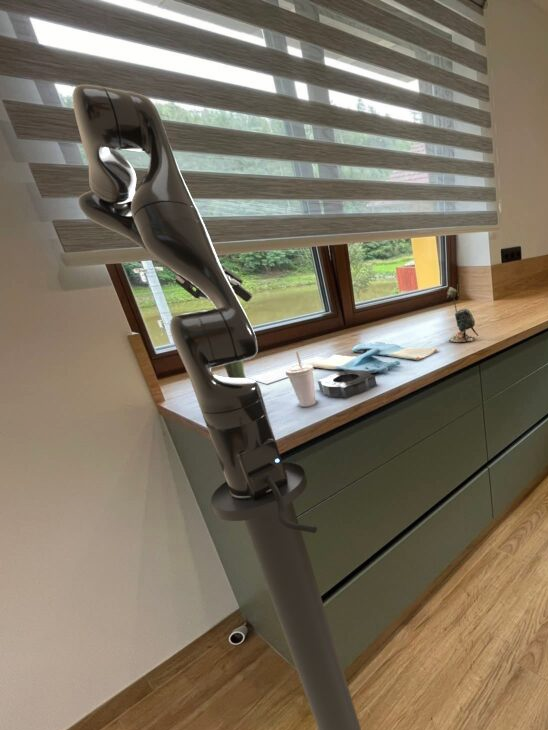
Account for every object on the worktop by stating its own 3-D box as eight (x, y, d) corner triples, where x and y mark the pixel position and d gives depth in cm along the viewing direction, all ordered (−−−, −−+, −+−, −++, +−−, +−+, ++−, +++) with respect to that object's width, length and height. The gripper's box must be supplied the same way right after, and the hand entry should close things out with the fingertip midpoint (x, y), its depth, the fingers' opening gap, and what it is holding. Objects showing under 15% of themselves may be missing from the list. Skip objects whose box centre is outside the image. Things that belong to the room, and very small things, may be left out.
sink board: (382, 383, 120) (380, 374, 119) (342, 400, 110) (340, 389, 109) (353, 377, 127) (351, 367, 126) (314, 392, 117) (311, 382, 116)
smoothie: (326, 401, 110) (314, 349, 105) (304, 410, 105) (290, 357, 100) (311, 397, 114) (298, 347, 108) (289, 406, 108) (274, 354, 103)
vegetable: (238, 408, 109) (214, 332, 102) (236, 403, 112) (212, 329, 105) (258, 403, 111) (235, 328, 104) (255, 398, 115) (232, 326, 107)
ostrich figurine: (469, 345, 151) (463, 288, 144) (445, 342, 157) (439, 287, 150) (483, 339, 158) (478, 284, 150) (459, 336, 164) (454, 283, 156)
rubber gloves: (368, 344, 161) (365, 327, 159) (438, 351, 147) (436, 333, 144) (307, 367, 138) (302, 348, 136) (383, 378, 124) (379, 357, 122)
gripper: (157, 244, 90) (224, 295, 93) (207, 240, 103) (264, 285, 106) (143, 271, 93) (209, 320, 96) (194, 264, 106) (250, 307, 109)
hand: (238, 302), depth 101 cm, fingers open, 8 cm apart
